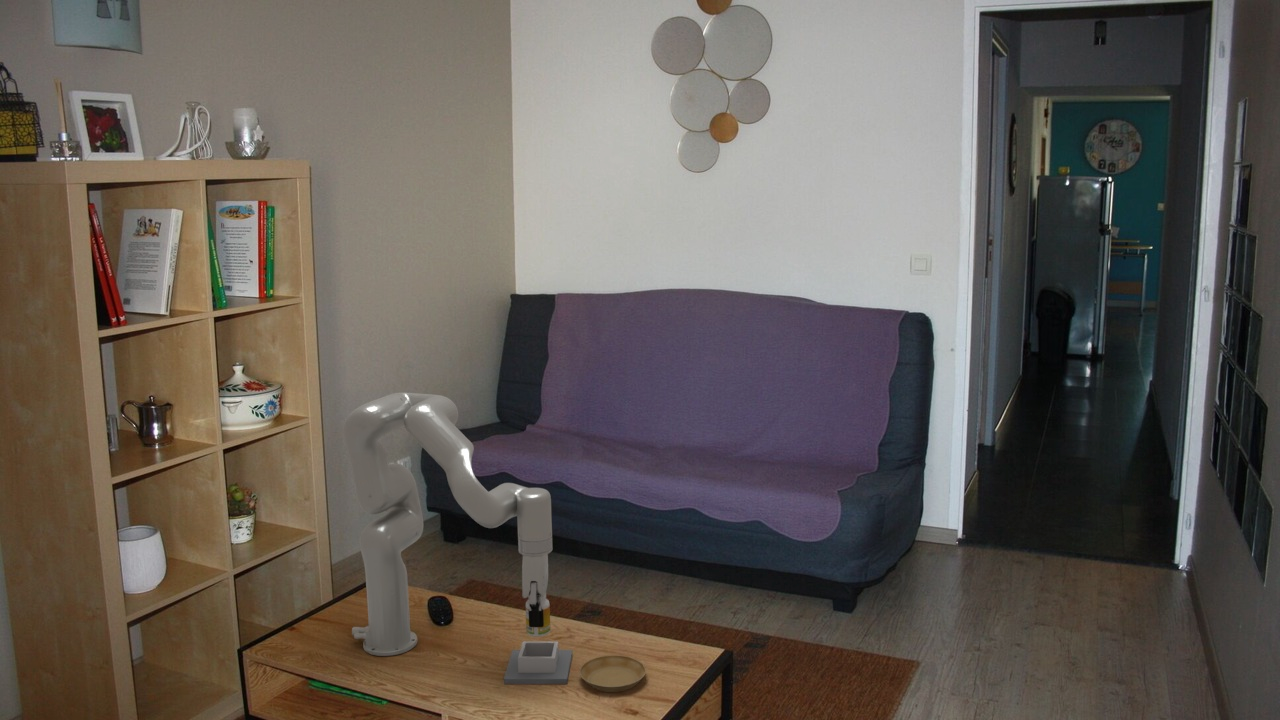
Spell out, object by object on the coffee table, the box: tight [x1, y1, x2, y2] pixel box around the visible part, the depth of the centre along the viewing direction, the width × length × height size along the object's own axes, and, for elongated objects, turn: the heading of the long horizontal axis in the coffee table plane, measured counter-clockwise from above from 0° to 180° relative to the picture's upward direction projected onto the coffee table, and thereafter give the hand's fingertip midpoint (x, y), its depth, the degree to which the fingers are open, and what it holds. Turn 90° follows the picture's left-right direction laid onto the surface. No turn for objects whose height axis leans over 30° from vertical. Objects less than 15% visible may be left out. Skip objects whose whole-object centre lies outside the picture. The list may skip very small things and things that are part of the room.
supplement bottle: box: [525, 591, 551, 638], centre depth 231 cm, size 5×5×10 cm
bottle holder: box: [503, 640, 573, 685], centre depth 233 cm, size 14×14×5 cm
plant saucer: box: [578, 654, 647, 693], centre depth 228 cm, size 15×15×3 cm
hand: (538, 619), depth 231 cm, fingers closed on supplement bottle, 5 cm apart
